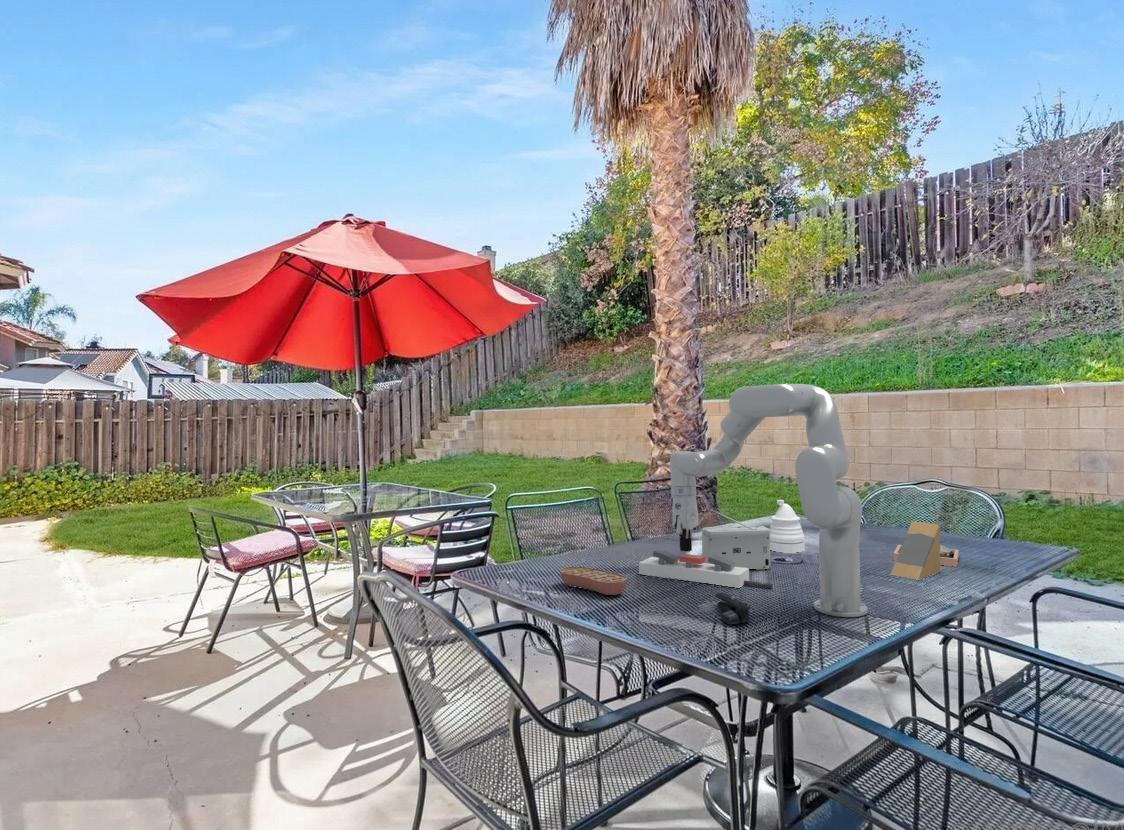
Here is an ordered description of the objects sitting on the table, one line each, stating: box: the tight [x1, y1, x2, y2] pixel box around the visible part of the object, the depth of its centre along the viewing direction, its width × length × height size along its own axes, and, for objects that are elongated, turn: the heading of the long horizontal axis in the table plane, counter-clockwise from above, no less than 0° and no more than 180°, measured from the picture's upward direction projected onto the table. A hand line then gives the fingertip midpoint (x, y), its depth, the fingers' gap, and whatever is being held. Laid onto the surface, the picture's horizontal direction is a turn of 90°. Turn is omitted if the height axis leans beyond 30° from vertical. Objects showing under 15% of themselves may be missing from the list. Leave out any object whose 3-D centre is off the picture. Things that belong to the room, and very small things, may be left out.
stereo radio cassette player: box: [701, 508, 771, 570], centre depth 207 cm, size 21×8×20 cm, turn 92°
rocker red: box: [678, 553, 706, 564], centre depth 197 cm, size 4×7×2 cm, turn 57°
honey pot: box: [769, 499, 806, 554], centre depth 233 cm, size 13×13×18 cm
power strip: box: [638, 556, 774, 589], centre depth 195 cm, size 9×40×6 cm, turn 57°
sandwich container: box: [889, 520, 941, 581], centre depth 196 cm, size 9×15×15 cm, turn 127°
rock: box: [940, 544, 954, 558], centre depth 214 cm, size 13×10×5 cm
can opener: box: [715, 592, 751, 625], centre depth 162 cm, size 18×7×6 cm, turn 3°
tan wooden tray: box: [892, 544, 959, 568], centre depth 214 cm, size 15×18×2 cm
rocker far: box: [652, 548, 679, 564], centre depth 202 cm, size 4×7×2 cm, turn 57°
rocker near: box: [708, 554, 735, 571], centre depth 192 cm, size 4×7×2 cm, turn 57°
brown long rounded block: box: [559, 566, 627, 596], centre depth 187 cm, size 23×10×5 cm, turn 45°
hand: (685, 550), depth 198 cm, fingers closed
